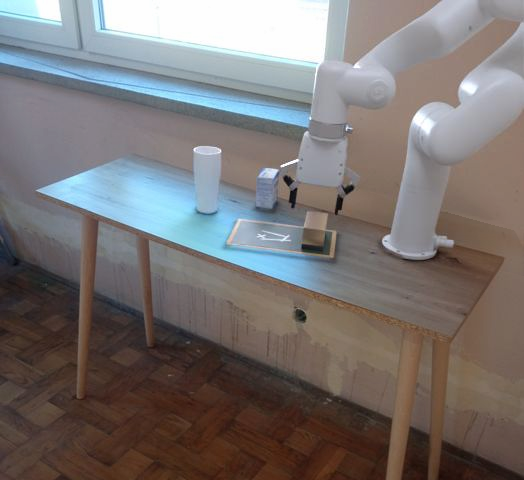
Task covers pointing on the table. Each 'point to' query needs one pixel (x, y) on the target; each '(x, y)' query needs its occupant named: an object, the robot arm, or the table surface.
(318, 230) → the eraser
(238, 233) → the slate
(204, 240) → the table surface
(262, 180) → the medicine box
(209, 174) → the drinking glass
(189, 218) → the table surface
